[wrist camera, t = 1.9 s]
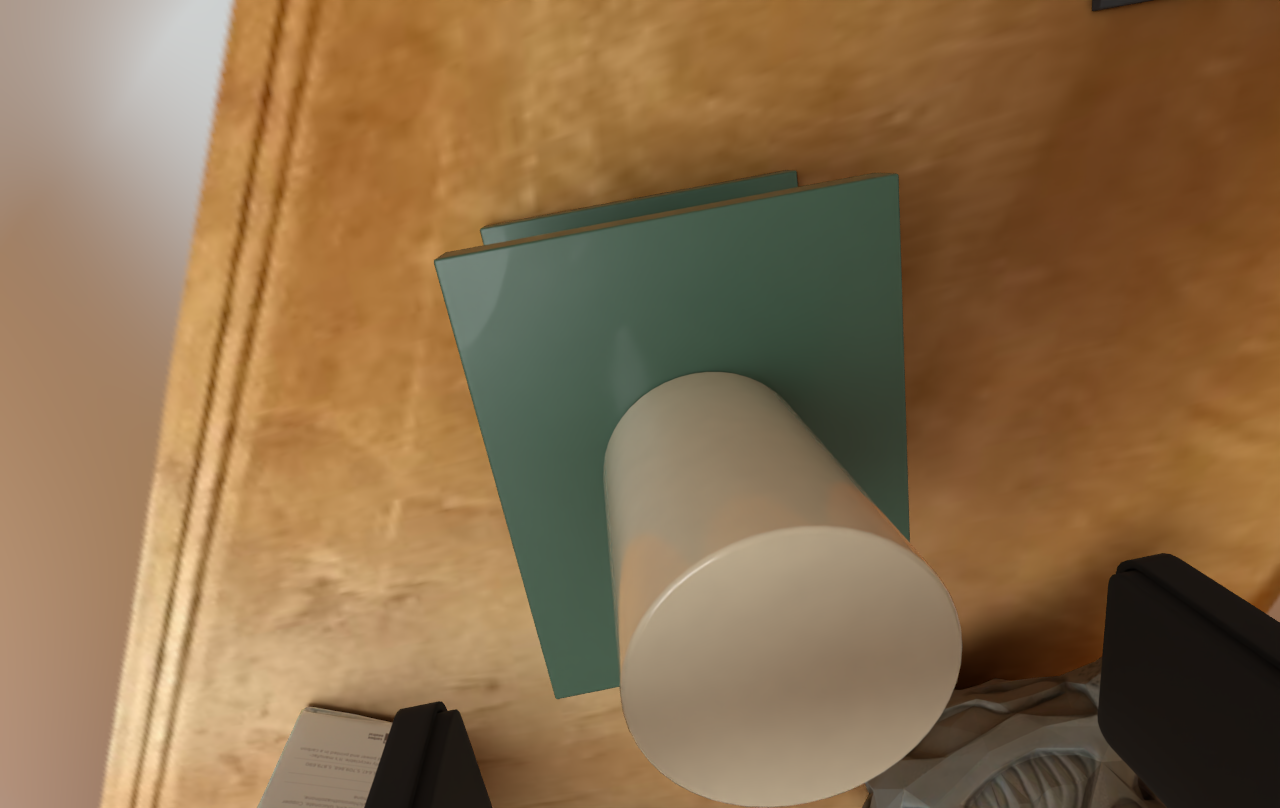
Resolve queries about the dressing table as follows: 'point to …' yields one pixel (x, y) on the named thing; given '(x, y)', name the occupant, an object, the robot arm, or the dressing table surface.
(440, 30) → the dressing table surface
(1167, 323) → the dressing table surface
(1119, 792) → the teapot
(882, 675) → the cream cylinder
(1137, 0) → the coaster
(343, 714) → the cosmetic box
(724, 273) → the stand
